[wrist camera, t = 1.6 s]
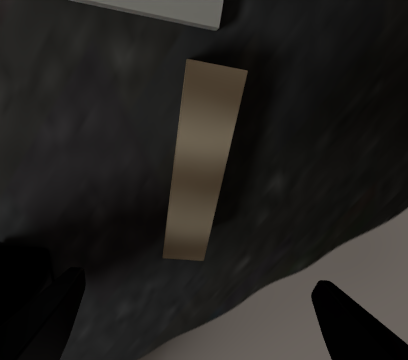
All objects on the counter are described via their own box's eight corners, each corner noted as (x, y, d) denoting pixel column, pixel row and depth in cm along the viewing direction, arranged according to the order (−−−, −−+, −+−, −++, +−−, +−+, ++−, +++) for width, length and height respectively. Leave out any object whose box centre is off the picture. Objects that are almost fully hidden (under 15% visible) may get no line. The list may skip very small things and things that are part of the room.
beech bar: (200, 230, 23) (203, 260, 20) (165, 227, 23) (162, 258, 19) (234, 68, 17) (247, 70, 13) (186, 59, 16) (187, 58, 13)
